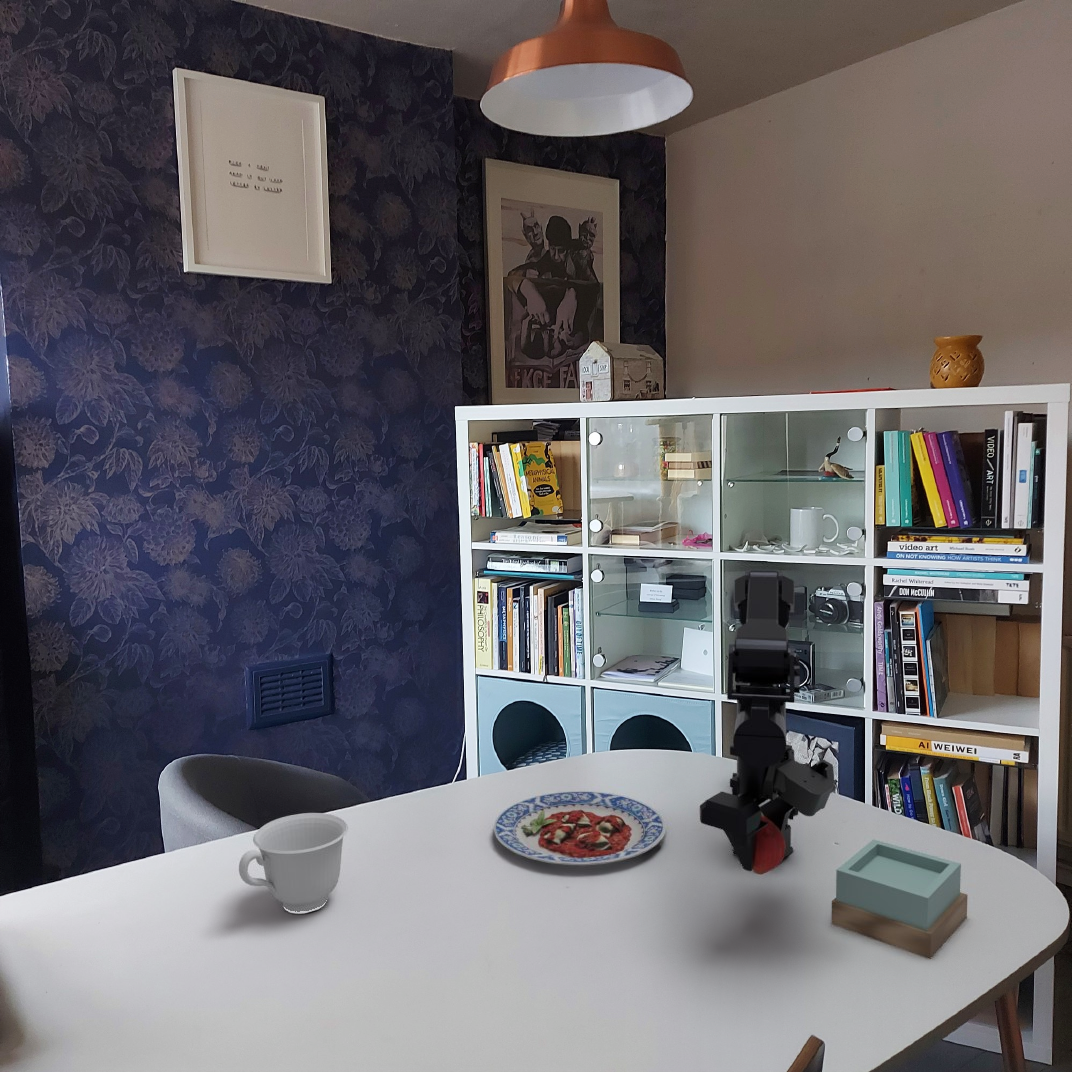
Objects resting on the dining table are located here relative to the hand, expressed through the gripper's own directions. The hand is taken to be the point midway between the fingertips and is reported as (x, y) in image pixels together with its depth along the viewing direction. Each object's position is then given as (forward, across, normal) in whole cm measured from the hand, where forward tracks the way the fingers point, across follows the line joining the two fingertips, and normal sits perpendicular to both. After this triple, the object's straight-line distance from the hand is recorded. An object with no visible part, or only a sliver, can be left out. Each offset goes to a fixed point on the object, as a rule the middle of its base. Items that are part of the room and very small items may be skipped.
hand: (760, 861), depth 118 cm
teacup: (+8, -35, +48) cm, 60 cm away
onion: (+2, 0, 0) cm, 2 cm away
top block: (+5, +11, -13) cm, 18 cm away
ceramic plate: (+8, +5, +33) cm, 34 cm away
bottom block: (+8, +11, -13) cm, 19 cm away
